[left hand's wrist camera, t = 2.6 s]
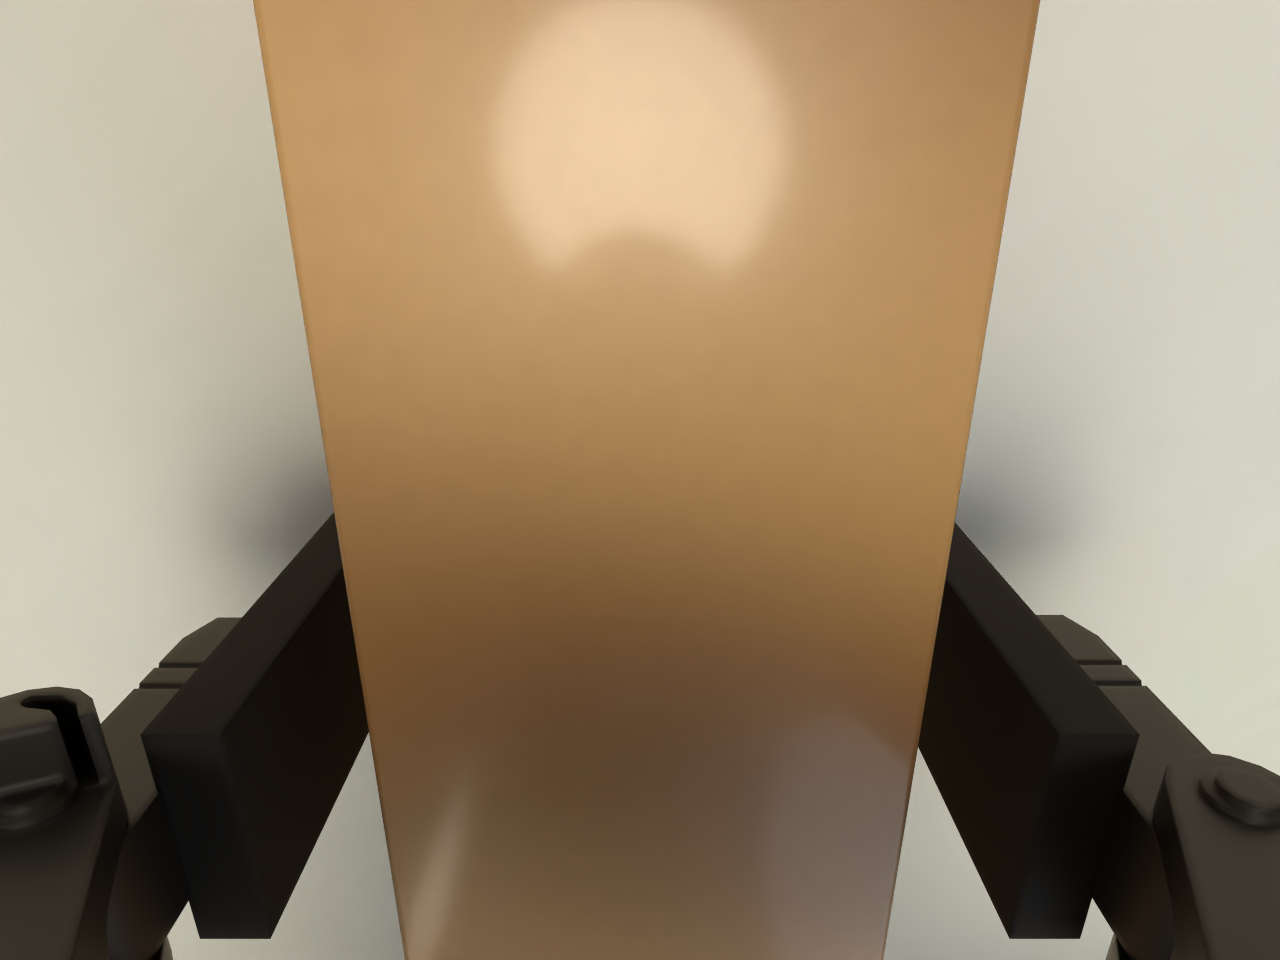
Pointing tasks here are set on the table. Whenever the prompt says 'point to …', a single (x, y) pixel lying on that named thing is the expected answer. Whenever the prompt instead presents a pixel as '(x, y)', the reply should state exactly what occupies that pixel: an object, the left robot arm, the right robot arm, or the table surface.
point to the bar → (645, 440)
